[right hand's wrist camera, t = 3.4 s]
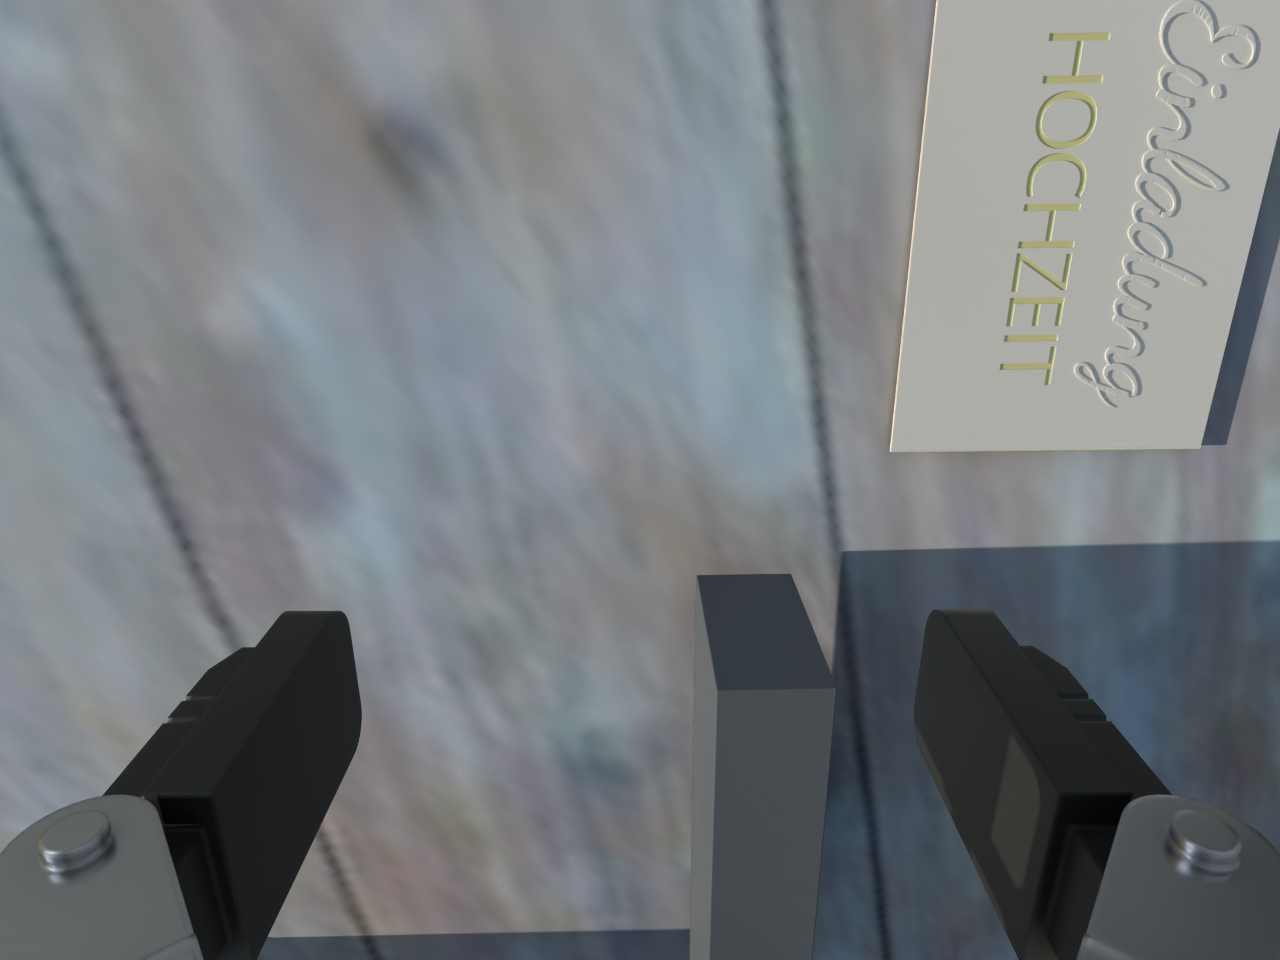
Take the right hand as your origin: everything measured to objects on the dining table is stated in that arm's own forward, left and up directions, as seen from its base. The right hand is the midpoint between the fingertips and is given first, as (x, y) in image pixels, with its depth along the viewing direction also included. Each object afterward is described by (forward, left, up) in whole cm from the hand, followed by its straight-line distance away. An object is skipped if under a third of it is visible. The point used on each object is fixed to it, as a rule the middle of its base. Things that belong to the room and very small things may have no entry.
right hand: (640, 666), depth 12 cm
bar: (+20, +18, -27) cm, 38 cm away
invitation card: (-13, +15, -29) cm, 35 cm away
